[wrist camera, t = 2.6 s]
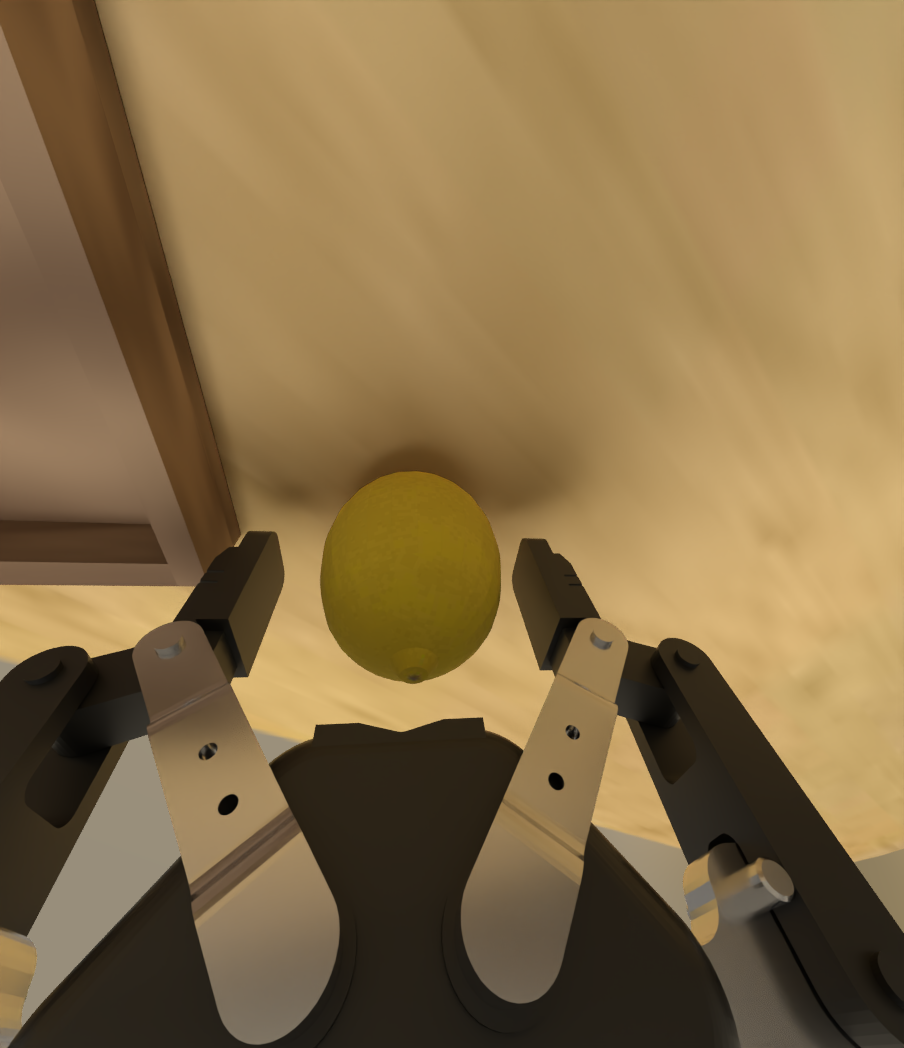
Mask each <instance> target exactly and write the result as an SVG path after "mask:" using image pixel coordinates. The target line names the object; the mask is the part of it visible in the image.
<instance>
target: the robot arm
mask: <svg viewBox="0 0 904 1048" xmlns="http://www.w3.org/2000/svg"><path fill="white" fill-rule="evenodd" d="M283 583H284V566H283V561H282V556H281V551H280V546H279V541H278V536H277V534H276V532H266V531H249V532H247V534H246V535H245V537H244V538H243V540H242V542H241V543H240V545H239V547H229V548H227V549H226V550H225V551H223V552H222V553H221V554H219V555H218V556H216V557H215V558H214V560H213V561H212V563H211V564H210V566H209V568H208V569H207V573H205V574H204V575H203V577H202V578H201V580H200V583H198V584H197V586H196V587H195V589H194V590H193V592H192V593H191V595H190V596H189V598H188V599H187V601H186V603H185V604H184V606H183V607H182V609H181V610H180V612H179V613H178V615H177V616H176V618H175V619H174V621H173V622H171V623H168V624H165V625H162V626H160V627H158V628H156V629H154V630H152V631H151V632H149V633H148V634H146V635H145V636H144V637H143V638H142V639H141V640H140V641H139V642H138V643H137V645H136V646H135V647H134V648H131V649H127V650H123V651H119V652H115V653H111V654H107V655H103V656H98V657H94V658H90V656H89V655H88V654H87V652H86V651H85V650H84V649H82V648H80V647H76V646H63V647H57V648H53V649H49V650H46V651H43V652H41V653H38V654H36V655H34V656H32V657H30V658H28V659H27V660H25V661H23V662H22V663H20V664H19V665H17V666H16V667H15V668H14V669H12V670H11V671H10V672H9V673H8V674H7V675H6V676H5V677H4V678H3V680H1V682H0V1048H904V933H903V932H902V930H901V929H900V928H899V926H898V925H897V923H896V922H895V920H894V919H893V917H892V916H891V915H890V913H889V912H888V910H887V909H886V908H885V906H884V905H883V903H882V902H881V901H880V899H879V898H878V896H877V895H876V893H875V892H874V891H873V889H872V888H871V886H870V885H869V883H868V882H867V881H866V879H865V878H864V876H863V875H862V874H861V872H860V871H859V869H858V868H857V866H856V865H855V864H854V862H853V861H852V859H851V858H850V857H849V855H848V854H847V852H846V851H845V849H844V848H843V847H842V845H841V844H840V842H839V841H838V840H837V838H836V837H835V835H834V834H833V832H832V831H831V830H830V828H829V827H828V825H827V824H826V823H825V821H824V820H823V818H822V817H821V815H820V814H819V813H818V811H817V810H816V808H815V807H814V806H813V804H812V803H811V801H810V800H809V798H808V797H807V796H806V794H805V793H804V791H803V790H802V789H801V787H800V786H799V784H798V783H797V781H796V780H795V779H794V777H793V776H792V774H791V773H790V772H789V770H788V769H787V767H786V766H785V764H784V763H783V762H782V760H781V759H780V757H779V756H778V755H777V753H776V752H775V750H774V749H773V747H772V746H771V745H770V743H769V742H768V740H767V739H766V738H765V736H764V735H763V733H762V732H761V730H760V729H759V728H758V726H757V725H756V723H755V722H754V721H753V719H752V718H751V716H750V715H749V714H748V712H747V711H746V709H745V708H744V706H743V705H742V704H741V702H740V701H739V699H738V698H737V697H736V695H735V694H734V692H733V691H732V689H731V688H730V687H729V685H728V684H727V682H726V681H725V680H724V678H723V677H722V675H721V674H720V672H719V671H718V670H717V668H716V667H715V665H714V664H713V663H712V661H711V660H710V658H709V657H708V656H707V655H706V654H705V653H704V652H703V651H702V650H701V649H699V648H698V647H696V646H695V645H693V644H691V643H689V642H687V641H685V640H682V639H678V638H667V639H664V640H663V641H661V643H660V644H659V646H658V647H657V648H654V647H650V646H646V645H642V644H638V643H635V642H631V641H628V640H627V639H626V637H625V635H624V634H623V633H622V632H621V631H620V630H619V629H618V628H617V627H616V626H614V625H613V624H611V623H609V622H608V621H605V620H602V619H601V618H600V616H599V614H598V612H597V611H596V609H595V607H594V605H593V603H592V601H591V600H590V598H589V596H588V594H587V592H586V591H585V589H584V587H583V586H582V583H581V581H580V580H579V578H578V577H577V574H576V572H575V571H574V569H573V567H572V565H571V563H569V562H568V561H567V560H566V559H565V558H564V557H563V556H562V555H561V554H554V553H553V552H552V550H551V548H550V547H549V545H548V543H547V541H546V540H545V539H530V538H523V539H522V540H521V543H520V546H519V550H518V554H517V558H516V562H515V566H514V570H513V575H512V584H513V590H514V593H515V596H516V599H517V602H518V605H519V608H520V611H521V614H522V617H523V620H524V623H525V626H526V629H527V632H528V635H529V638H530V641H531V644H532V647H533V650H534V653H535V657H536V660H537V663H538V666H539V669H540V670H553V673H554V675H555V679H554V682H553V684H552V686H551V689H550V691H549V693H548V696H547V698H546V700H545V703H544V705H543V707H542V709H541V712H540V714H539V716H538V719H537V721H536V723H535V726H534V728H533V730H532V733H531V735H530V737H529V740H528V742H527V744H526V747H525V749H524V751H523V750H522V749H521V748H520V747H519V746H517V745H516V744H514V743H513V742H511V741H510V740H508V739H506V738H504V737H502V736H500V735H498V734H495V733H493V732H490V731H485V728H484V722H483V718H460V719H443V720H440V721H437V722H433V723H430V724H427V725H424V726H421V727H418V728H415V729H412V730H408V731H405V732H397V731H392V730H388V729H383V728H379V727H374V726H370V725H365V724H361V723H349V724H326V725H316V727H315V732H314V737H313V739H311V740H308V741H305V742H303V743H300V744H298V745H296V746H294V747H292V748H291V749H289V750H287V751H285V752H284V753H282V754H281V755H280V756H278V757H277V758H275V759H274V760H273V761H272V762H270V763H269V764H268V762H267V760H266V758H265V756H264V754H263V751H262V749H261V747H260V745H259V743H258V741H257V739H256V737H255V735H254V733H253V731H252V729H251V726H250V724H249V722H248V720H247V718H246V716H245V714H244V712H243V710H242V708H241V706H240V704H239V701H238V699H237V697H236V695H235V693H234V691H233V689H232V687H231V685H230V683H231V681H232V679H233V678H234V677H248V676H249V673H250V670H251V668H252V665H253V663H254V660H255V658H256V655H257V652H258V650H259V647H260V645H261V642H262V639H263V637H264V634H265V632H266V629H267V626H268V624H269V621H270V619H271V616H272V613H273V611H274V608H275V606H276V603H277V601H278V598H279V595H280V593H281V590H282V587H283ZM617 715H619V716H622V717H626V719H627V721H628V724H629V726H630V729H631V731H632V733H633V736H634V738H635V740H636V743H637V745H638V747H639V750H640V752H641V754H642V757H643V759H644V761H645V764H646V766H647V768H648V771H649V773H650V775H651V778H652V780H653V782H654V785H655V787H656V789H657V792H658V794H659V797H660V799H661V801H662V804H663V806H664V808H665V811H666V813H667V815H668V818H669V820H670V822H671V825H672V827H673V829H674V832H675V834H676V836H677V839H678V841H679V843H680V846H681V848H682V850H683V853H684V855H685V858H686V860H687V862H688V867H687V868H686V870H685V873H684V876H683V890H684V896H685V899H686V902H687V912H688V916H689V918H690V920H691V930H690V929H689V928H688V926H687V925H686V924H685V923H684V921H683V920H682V919H681V918H680V917H679V916H678V915H677V913H676V912H675V911H674V910H673V909H672V908H671V907H670V906H669V905H668V904H667V903H666V902H665V901H664V899H663V898H662V897H661V896H660V895H659V894H658V893H657V892H656V891H655V890H654V889H653V888H652V887H651V886H650V885H649V883H648V882H646V880H645V879H644V878H643V877H642V876H641V875H640V874H639V873H638V872H637V871H636V870H635V869H634V867H633V866H632V865H631V864H630V863H629V862H628V861H627V860H626V859H625V858H624V857H623V856H622V855H621V853H619V852H618V850H617V849H616V848H615V847H614V846H613V845H612V844H611V843H610V842H609V841H608V840H607V839H606V838H605V836H604V835H603V834H602V833H601V832H600V831H599V830H598V829H597V828H596V827H595V826H594V825H593V824H592V822H591V820H592V816H593V812H594V808H595V804H596V799H597V795H598V791H599V787H600V783H601V779H602V775H603V770H604V766H605V762H606V758H607V754H608V750H609V746H610V741H611V737H612V733H613V729H614V725H615V721H616V717H617ZM147 734H148V737H149V741H150V744H151V748H152V751H153V755H154V759H155V763H156V766H157V770H158V773H159V777H160V781H161V784H162V788H163V792H164V795H165V799H166V802H167V806H168V810H169V814H170V817H171V821H172V824H173V828H174V832H175V835H176V839H177V843H178V846H179V850H180V854H181V856H180V857H179V858H178V859H177V860H176V861H175V863H174V864H173V865H172V866H171V867H170V868H169V869H168V870H167V871H166V872H165V873H164V874H163V875H162V876H161V877H160V879H159V880H158V881H157V882H156V883H155V884H154V885H153V886H152V887H151V888H150V889H149V890H148V891H147V892H146V893H145V894H144V895H143V896H142V897H141V899H140V900H139V901H138V902H137V903H136V904H135V905H134V906H133V907H132V908H131V909H130V910H129V911H128V912H127V913H126V914H125V915H124V917H123V918H122V919H121V920H120V921H119V922H118V923H117V924H116V925H115V926H114V927H113V928H112V929H111V930H110V931H109V932H108V933H107V935H106V936H105V937H104V938H103V939H102V940H101V941H100V942H99V943H98V944H97V945H96V946H95V947H94V948H93V949H92V950H91V951H90V953H89V954H88V955H87V956H86V957H85V958H84V959H83V960H82V961H81V962H80V963H79V964H78V965H77V966H76V967H75V968H74V969H73V971H72V972H71V973H70V974H69V975H68V976H67V977H66V978H65V979H64V980H63V981H62V982H61V983H60V984H59V985H58V986H57V987H56V989H55V990H54V991H53V992H52V993H51V994H50V995H49V996H48V997H47V999H45V1000H44V1001H43V1003H42V1004H41V1005H40V1006H39V1007H38V1008H37V1009H36V1011H35V1012H34V1013H33V1014H32V1015H31V1017H30V1018H29V1019H28V1021H27V1022H26V1023H25V1024H24V1025H23V1027H22V1022H21V1018H22V1009H23V1005H24V1002H25V1000H26V997H27V993H28V989H29V986H30V984H31V981H32V978H33V976H34V972H35V968H36V962H37V953H36V947H35V945H34V943H33V942H32V941H31V939H30V938H28V937H27V935H28V933H29V931H30V929H31V928H32V925H33V924H34V922H35V920H36V918H37V916H38V914H39V912H40V910H41V908H42V906H43V904H44V903H45V901H46V899H47V897H48V895H49V893H50V891H51V889H52V887H53V885H54V883H55V881H56V880H57V877H58V876H59V874H60V872H61V870H62V868H63V866H64V864H65V862H66V860H67V858H68V857H69V854H70V853H71V851H72V849H73V847H74V845H75V843H76V841H77V839H78V837H79V835H80V834H81V832H82V830H83V828H84V826H85V824H86V822H87V820H88V818H89V816H90V814H91V812H92V810H93V808H94V807H95V805H96V803H97V801H98V799H99V797H100V795H101V793H102V791H103V789H104V787H105V786H106V784H107V782H108V780H109V778H110V776H111V774H112V772H113V770H114V768H115V766H116V764H117V763H118V760H119V759H120V757H121V755H122V753H123V751H124V749H125V747H126V745H127V743H128V741H129V740H132V739H135V738H138V737H141V736H144V735H147Z"/></svg>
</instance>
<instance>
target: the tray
mask: <svg viewBox="0 0 904 1048" xmlns="http://www.w3.org/2000/svg"><path fill="white" fill-rule="evenodd" d="M240 535H241V534H240V530H239V527H238V523H237V519H236V516H235V512H234V508H233V505H232V501H231V497H230V494H229V490H228V486H227V483H226V479H225V476H224V472H223V468H222V465H221V461H220V457H219V454H218V450H217V446H216V443H215V439H214V436H213V432H212V428H211V425H210V421H209V417H208V414H207V410H206V406H205V403H204V399H203V396H202V392H201V388H200V385H199V381H198V377H197V374H196V370H195V366H194V363H193V359H192V355H191V352H190V348H189V345H188V341H187V337H186V334H185V330H184V326H183V323H182V319H181V315H180V312H179V308H178V305H177V301H176V297H175V294H174V290H173V286H172V283H171V279H170V275H169V272H168V268H167V265H166V261H165V257H164V254H163V250H162V246H161V243H160V239H159V235H158V232H157V228H156V224H155V221H154V217H153V214H152V210H151V206H150V203H149V199H148V195H147V192H146V188H145V184H144V181H143V177H142V174H141V170H140V166H139V163H138V159H137V155H136V152H135V148H134V144H133V141H132V137H131V134H130V130H129V126H128V123H127V119H126V115H125V112H124V108H123V104H122V101H121V97H120V93H119V90H118V86H117V83H116V79H115V75H114V72H113V68H112V64H111V61H110V57H109V53H108V50H107V46H106V43H105V39H104V35H103V32H102V28H101V24H100V21H99V17H98V13H97V10H96V6H95V3H94V0H0V585H104V586H197V584H198V583H200V580H201V578H202V577H203V575H204V574H205V573H207V569H208V568H209V566H210V564H211V563H212V561H213V560H214V558H215V557H216V556H218V555H219V554H221V553H222V552H223V551H225V550H226V549H227V548H229V547H234V545H235V543H236V542H237V540H238V539H239V537H240Z"/></svg>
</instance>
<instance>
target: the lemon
mask: <svg viewBox="0 0 904 1048" xmlns="http://www.w3.org/2000/svg"><path fill="white" fill-rule="evenodd" d="M320 586H321V597H322V602H323V607H324V612H325V616H326V621H327V624H328V627H329V629H330V631H331V633H332V635H333V636H334V638H335V639H336V641H337V643H338V644H339V646H340V647H341V649H342V650H343V651H344V652H345V653H346V654H347V655H348V656H349V657H350V658H351V659H352V660H353V661H355V662H356V663H357V664H358V665H359V666H361V667H363V668H364V669H366V670H368V671H370V672H371V673H373V674H375V675H377V676H381V677H384V678H387V679H391V680H394V681H402V682H405V683H410V684H416V683H420V682H423V681H425V680H430V679H433V678H436V677H439V676H441V675H444V674H446V673H448V672H450V671H452V670H454V669H455V668H457V667H459V666H460V665H461V664H462V663H464V662H465V661H466V660H467V659H469V658H470V657H471V656H472V655H473V654H474V653H475V652H476V651H477V650H478V649H479V647H480V646H481V644H482V643H483V642H484V640H485V639H486V638H487V636H488V634H489V632H490V630H491V628H492V625H493V622H494V619H495V616H496V613H497V610H498V606H499V601H500V592H501V565H500V554H499V549H498V545H497V542H496V539H495V537H494V534H493V531H492V528H491V526H490V523H489V521H488V519H487V517H486V515H485V514H484V513H483V511H482V510H481V508H480V507H479V506H478V505H477V503H476V502H475V501H474V499H473V498H472V497H471V496H470V495H469V494H468V493H467V492H466V491H464V490H463V489H462V488H460V487H459V486H458V485H456V484H455V483H454V482H452V481H450V480H448V479H445V478H443V477H440V476H438V475H436V474H431V473H425V472H419V471H407V472H396V473H392V474H389V475H386V476H382V477H379V478H378V479H376V480H374V481H372V482H371V483H369V484H367V485H366V486H364V487H362V488H361V489H359V490H358V492H357V493H356V494H355V495H354V496H353V497H352V498H351V499H350V500H349V501H348V502H347V503H346V504H345V505H344V506H343V507H342V509H341V510H340V512H339V514H338V515H337V517H336V519H335V521H334V523H333V525H332V527H331V529H330V531H329V533H328V536H327V539H326V541H325V546H324V551H323V559H322V566H321V576H320Z"/></svg>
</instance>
